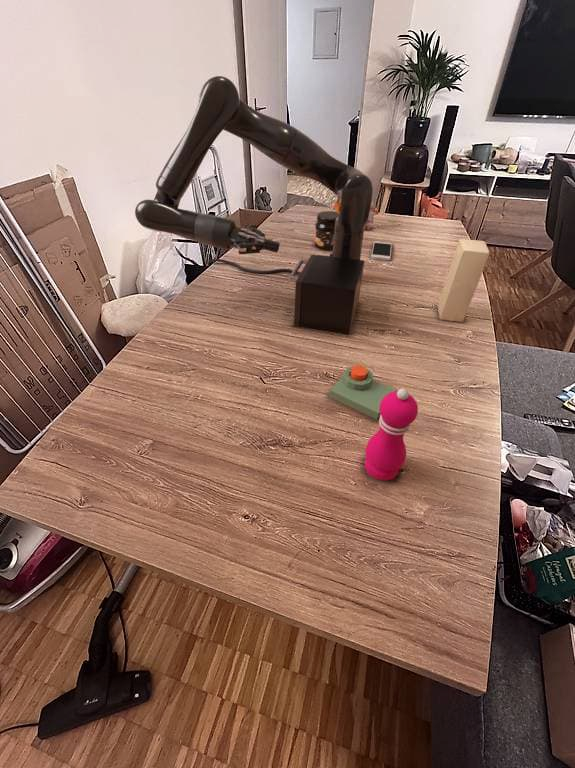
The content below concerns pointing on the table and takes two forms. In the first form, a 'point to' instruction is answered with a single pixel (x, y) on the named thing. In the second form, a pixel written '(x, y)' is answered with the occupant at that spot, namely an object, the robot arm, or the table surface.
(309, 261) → the oven door
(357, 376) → the button
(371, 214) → the doll family
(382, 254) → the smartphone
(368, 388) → the switch block
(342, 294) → the oven
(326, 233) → the supplement container
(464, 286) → the tall wooden block
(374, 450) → the pepper mill
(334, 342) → the table surface
